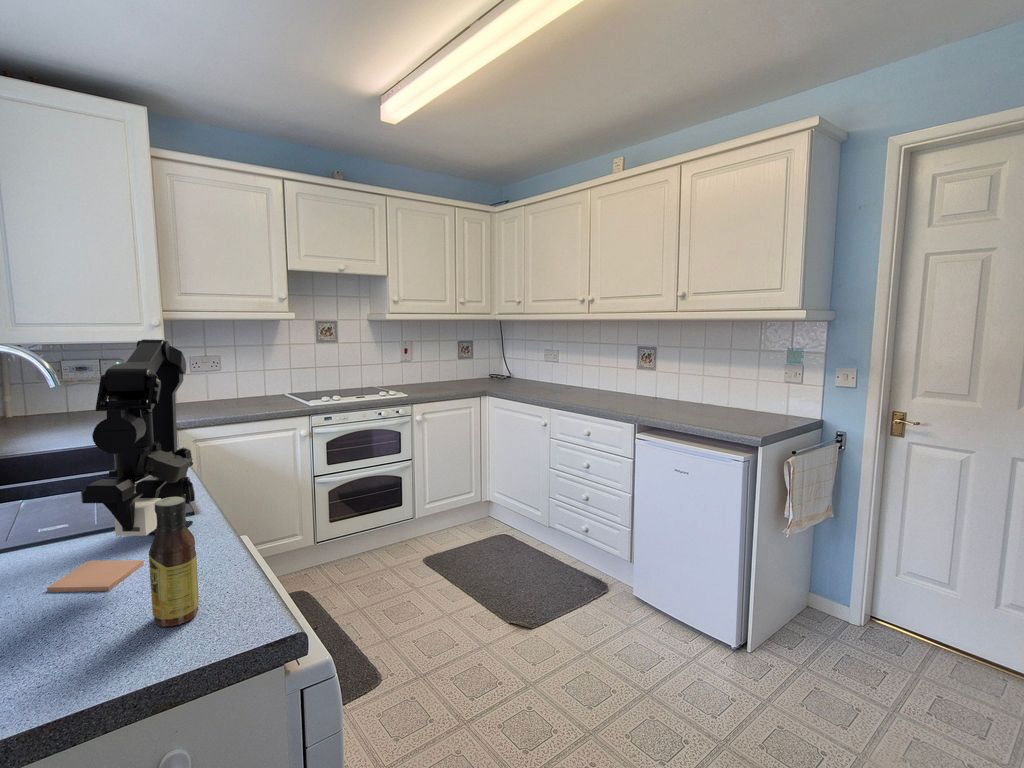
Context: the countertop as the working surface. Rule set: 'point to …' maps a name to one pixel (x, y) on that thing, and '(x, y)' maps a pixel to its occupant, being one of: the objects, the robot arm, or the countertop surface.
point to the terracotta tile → (96, 576)
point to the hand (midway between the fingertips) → (138, 524)
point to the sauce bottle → (173, 565)
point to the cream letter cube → (141, 518)
